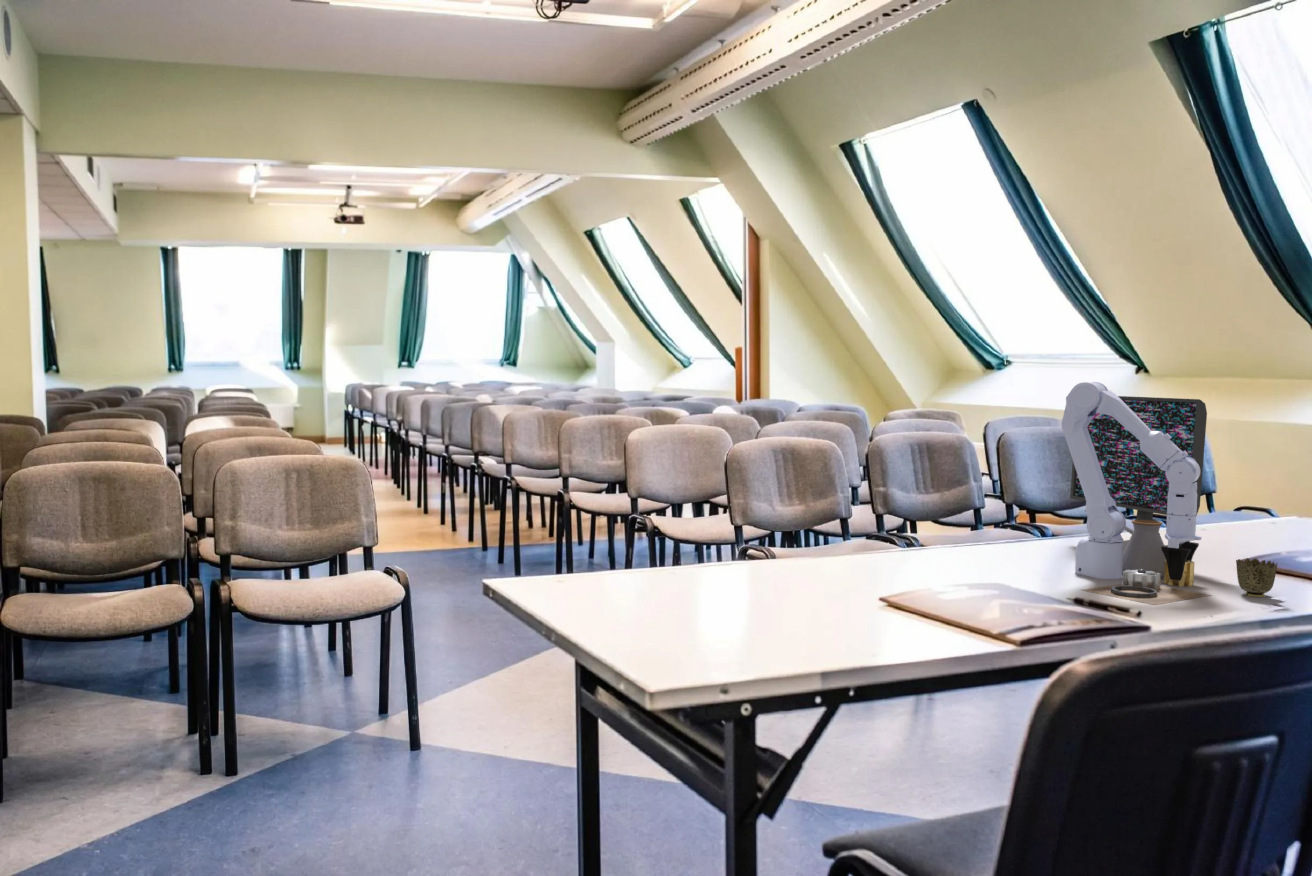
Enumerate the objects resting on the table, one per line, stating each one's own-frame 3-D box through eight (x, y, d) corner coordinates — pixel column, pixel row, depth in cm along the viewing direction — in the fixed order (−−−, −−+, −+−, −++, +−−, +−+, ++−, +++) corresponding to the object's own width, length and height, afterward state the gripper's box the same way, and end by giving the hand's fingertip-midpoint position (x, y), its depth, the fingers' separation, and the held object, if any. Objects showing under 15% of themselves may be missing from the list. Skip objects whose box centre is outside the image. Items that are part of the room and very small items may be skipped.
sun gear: (1115, 585, 240) (1116, 568, 240) (1136, 582, 244) (1137, 565, 244) (1145, 591, 234) (1146, 573, 234) (1167, 587, 238) (1167, 570, 238)
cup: (1253, 604, 227) (1255, 564, 226) (1226, 597, 234) (1227, 558, 233) (1284, 602, 229) (1286, 563, 228) (1255, 595, 236) (1257, 557, 235)
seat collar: (1102, 591, 233) (1102, 587, 233) (1128, 587, 237) (1128, 584, 237) (1139, 599, 225) (1139, 595, 225) (1165, 595, 230) (1166, 591, 230)
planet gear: (1158, 583, 243) (1159, 558, 243) (1174, 580, 246) (1175, 556, 246) (1182, 587, 239) (1183, 562, 238) (1198, 585, 242) (1200, 560, 241)
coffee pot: (1183, 580, 252) (1186, 513, 251) (1152, 585, 246) (1155, 516, 245) (1100, 565, 270) (1102, 503, 269) (1069, 569, 264) (1071, 505, 263)
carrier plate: (1079, 594, 235) (1079, 589, 235) (1137, 586, 245) (1137, 581, 245) (1153, 609, 220) (1153, 604, 220) (1211, 600, 230) (1211, 595, 230)
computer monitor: (1049, 542, 306) (1054, 394, 303) (1099, 540, 311) (1104, 394, 308) (1167, 570, 264) (1173, 399, 262) (1223, 567, 269) (1230, 399, 267)
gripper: (1195, 519, 233) (1192, 584, 234) (1208, 512, 245) (1205, 574, 246) (1158, 516, 237) (1155, 580, 238) (1173, 509, 249) (1170, 571, 250)
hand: (1178, 577), depth 242 cm, fingers closed on planet gear, 6 cm apart
